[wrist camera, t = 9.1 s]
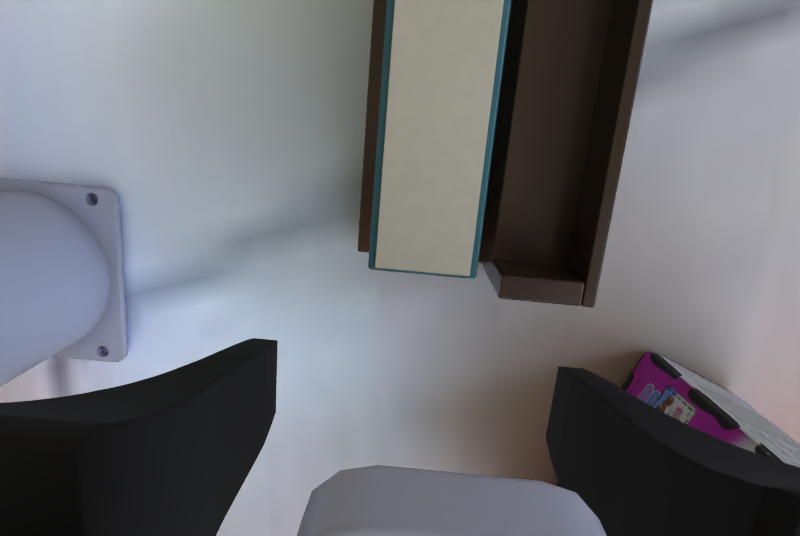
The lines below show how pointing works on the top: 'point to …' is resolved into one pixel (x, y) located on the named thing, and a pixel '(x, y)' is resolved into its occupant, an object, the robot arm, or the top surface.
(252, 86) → the top surface
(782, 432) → the candy bar box
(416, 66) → the book
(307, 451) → the top surface
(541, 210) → the step shelf
